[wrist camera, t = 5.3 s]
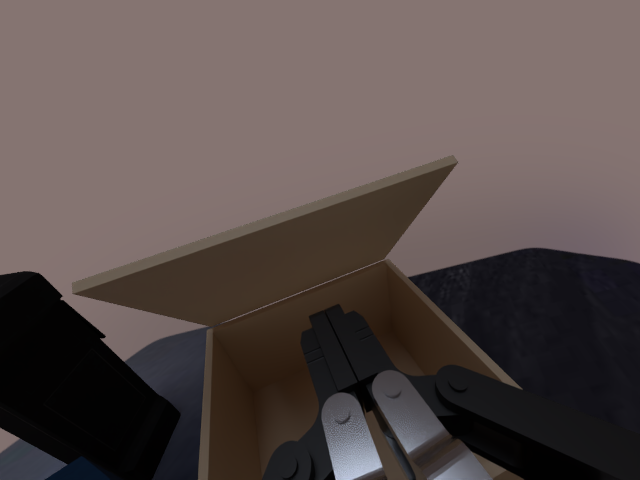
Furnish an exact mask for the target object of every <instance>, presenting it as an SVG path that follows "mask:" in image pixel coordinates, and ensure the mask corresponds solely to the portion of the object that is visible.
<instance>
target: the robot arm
mask: <svg viewBox="0 0 640 480" xmlns="http://www.w3.org/2000/svg"><path fill="white" fill-rule="evenodd" d="M309 319H310V322H311V325H312V328H310V329H308V330H305V331H303V332H302V334H301V341H300V344H301V347H302V350H303V354H304V357H305V360H306V363H307V366H308V369H309V372H310V376H311V379H312V382H313V385H314V388H315V391H316V395H317V398H318V402H319V411H318V415H317V418H316V421H315V423H314V424H313V426H312V427H311V428H310V429H309V430H308V431H307V432H306V433H305V434H304V435H303V436H302V437H301V438H300V439H299V440H298V441H287V442H284V443H283V444H281V445H280V446H279V447H277V449H276V450H275V451H274V452H273V454H272V456H271V458H270V460H269V462H268V465H267V468H266V470H265V473H264V475H263V478H262V480H388V479H387V477H386V474H385V472H384V469H383V467H382V464H381V461H380V458H379V456H378V453H377V450H376V447H375V445H374V442H373V439H372V436H371V434H370V431H369V428H368V426H367V422H366V418H365V412H364V409H365V411H366V413H368V412H370V411H373V413H374V416H375V418H376V420H377V422H378V425H379V429H380V432H381V434H382V436H383V438H384V439H385V441H386V443H387V445H388V447H389V448H390V450H391V452H392V454H393V456H394V458H395V459H396V461H397V463H398V465H399V467H400V468H401V470H402V472H403V474H404V476H405V477H406V479H407V480H493V479H492V478H491V477H490V475H489V474H488V473H487V471H486V470H485V469H484V468H483V466H482V465H481V464H480V462H479V461H478V460H477V459H476V457H475V456H474V455H473V454H472V452H473V453H475V454H477V455H479V456H481V457H483V458H485V459H487V460H489V461H490V462H492V463H494V464H496V465H498V466H500V467H502V468H504V469H506V470H507V471H509V472H511V473H513V474H515V475H517V476H519V477H521V478H523V479H524V480H640V434H638V433H635V432H633V431H630V430H627V429H625V428H622V427H619V426H617V425H614V424H612V423H609V422H606V421H604V420H601V419H598V418H596V417H593V416H590V415H588V414H585V413H583V412H580V411H577V410H575V409H572V408H569V407H567V406H564V405H561V404H559V403H556V402H554V401H551V400H548V399H546V398H543V397H540V396H538V395H535V394H532V393H530V392H527V391H525V390H522V389H519V388H517V387H514V386H511V385H509V384H506V383H503V382H501V381H498V380H496V379H493V378H490V377H488V376H485V375H482V374H480V373H477V372H474V371H472V370H469V369H467V368H464V367H461V366H458V365H446V366H443V367H442V368H440V369H439V370H438V372H437V374H436V375H426V376H411V375H407V374H405V373H403V372H401V371H400V370H399V369H397V368H396V367H395V365H394V364H393V363H392V361H391V360H390V358H389V356H388V355H387V353H386V352H385V350H384V349H383V347H382V346H381V344H380V342H379V341H378V339H377V338H376V336H375V335H374V333H373V331H372V330H371V328H370V327H369V325H368V324H367V322H366V320H365V319H364V317H363V316H361V315H360V314H358V313H357V312H356V311H354V310H353V311H351V312H348V313H346V314H345V313H344V311H343V309H342V308H341V306H340V305H339V304H337V305H334V306H332V307H329V308H327V309H324V311H323V310H322V311H320V312H317V313H315V314H312V315H310V316H309ZM471 451H472V452H471Z"/></svg>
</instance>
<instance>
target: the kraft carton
mask: <svg viewBox="0 0 640 480" xmlns="http://www.w3.org/2000/svg"><path fill="white" fill-rule="evenodd" d="M337 304H339V305H340V306H341V308H342V309H343V311H344V313H345V314H346V313H348V312H351V311H353V310H354V311H356V312H357V313H358V314H360V315H361V316H363V317H364V319H365V320H366V322H367V324H368V325H369V327H370V328H371V330H372V331H373V333H374V335H375V336H376V338H377V339H378V341H379V342H380V344H381V346H382V347H383V349H384V350H385V352H386V353H387V355H388V356H389V358H390V360H391V361H392V363H393V364H394V365H395V367H396V368H397V369H399V370H400V371H401V372H403V373H405V374H407V375H411V376H426V375H436V374H437V372H438V370H439V369H440V368H442V367H443V366H446V365H458V366H461V367H464V368H467V369H469V370H472V371H474V372H477V373H480V374H482V375H485V376H488V377H490V378H493V379H496V380H498V381H501V382H503V383H506V384H509V385H511V386H514V387H517V388H519V389H521V388H520V387H519V386H518V385H517V384H516V383H515V382H514V381H513V380H512V379H511V378H510V377H509V376H508V375H507V374H506V373H505V372H504V371H503V370H502V369H501V368H500V367H499V366H498V365H497V364H496V363H495V362H494V361H493V360H492V359H491V358H490V357H489V356H488V355H486V354H485V353H484V352H483V351H482V350H481V349H480V348H479V347H478V346H477V345H476V344H475V343H474V342H473V341H472V340H471V339H470V338H469V337H468V336H467V335H466V334H465V333H464V332H463V331H462V330H461V329H460V328H459V327H458V326H457V325H456V324H455V323H454V322H453V321H452V320H451V319H449V318H448V317H447V316H446V315H445V314H444V313H443V312H442V311H441V310H440V309H439V308H438V307H437V306H436V305H435V304H434V303H433V302H432V301H431V300H430V299H429V298H428V297H427V296H426V295H425V294H424V293H423V292H422V291H421V290H420V289H419V288H418V287H417V286H416V285H415V284H414V283H413V282H411V281H410V280H409V279H408V278H407V277H406V276H405V275H404V274H403V273H402V272H401V271H400V270H399V269H398V268H397V267H396V266H395V265H394V264H393V263H392V262H391V261H390V260H389V259H387V260H384V261H381V262H379V263H376V264H374V265H371V266H369V267H366V268H364V269H361V270H358V271H356V272H354V273H351V274H348V275H346V276H343V277H341V278H338V279H336V280H333V281H331V282H328V283H325V284H323V285H320V286H318V287H315V288H313V289H310V290H308V291H305V292H303V293H300V294H298V295H295V296H293V297H290V298H287V299H285V300H282V301H280V302H277V303H275V304H272V305H269V306H267V307H265V308H262V309H259V310H257V311H254V312H252V313H249V314H247V315H244V316H242V317H239V318H236V319H234V320H231V321H229V322H226V323H224V324H221V325H219V326H216V327H214V328H211V329H208V330H207V340H206V356H205V373H204V389H203V405H202V422H201V438H200V455H199V471H198V480H262V478H263V475H264V473H265V470H266V468H267V465H268V462H269V460H270V458H271V456H272V454H273V452H274V451H275V450H276V449H277V447H279V446H280V445H281V444H283V443H284V442H287V441H298V440H299V439H300V438H301V437H302V436H303V435H304V434H305V433H306V432H307V431H308V430H309V429H310V428H311V427H312V426H313V424H314V423H315V421H316V418H317V415H318V411H319V402H318V398H317V395H316V391H315V388H314V385H313V382H312V379H311V376H310V372H309V369H308V366H307V363H306V360H305V357H304V354H303V350H302V347H301V344H300V341H301V334H302V332H303V331H305V330H308V329H310V328H312V325H311V322H310V319H309V316H310V315H312V314H315V313H317V312H320V311H322V310H323V311H324V309H327V308H329V307H332V306H334V305H337ZM364 412H365V418H366V422H367V426H368V428H369V431H370V434H371V436H372V439H373V442H374V445H375V447H376V450H377V453H378V456H379V458H380V461H381V464H382V467H383V469H384V472H385V474H386V477H387V479H388V480H407V479H406V477H405V476H404V474H403V472H402V470H401V468H400V467H399V465H398V463H397V461H396V459H395V458H394V456H393V454H392V452H391V450H390V448H389V447H388V445H387V443H386V441H385V439H384V438H383V436H382V434H381V432H380V429H379V425H378V422H377V420H376V418H375V416H374V413H373V411H370V412H368V413H366V411H365V409H364ZM471 452H472V451H471ZM472 454H473V455H474V456H475V457H476V459H477V460H478V461H479V462H480V464H481V465H482V466H483V468H484V469H485V470H486V471H487V473H488V474H489V475H490V477H491V478H492V479H493V480H524V479H523V478H521V477H519V476H517V475H515V474H513V473H511V472H509V471H507V470H506V469H504V468H502V467H500V466H498V465H496V464H494V463H492V462H490V461H489V460H487V459H485V458H483V457H481V456H479V455H477V454H475V453H473V452H472Z"/></svg>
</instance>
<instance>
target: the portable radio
mask: <svg viewBox="0 0 640 480" xmlns="http://www.w3.org/2000/svg"><path fill="white" fill-rule="evenodd" d="M61 297H62V295H61V294H60V293H59V292H58V291H57V290H56V289H55V288H54V287H53V286H52V285H51V284H50V283H49V282H48V281H47V280H46V279H45V278H44V277H43V276H42V275H41V274H39V273H35V272H28V271H23V272H17V273H11V274H5V275H0V428H2V429H4V430H5V431H7V432H9V433H11V434H13V435H15V436H17V437H19V438H20V439H22V440H24V441H26V442H28V443H29V444H31V445H33V446H35V447H37V448H39V449H40V450H42V451H44V452H46V453H48V454H50V455H51V456H53V457H55V458H57V459H59V460H61V461H62V462H64V463H66V464H70V463H71V462H73V461H75V460H76V459H78V458H79V457H81V456H83V457H85V458H86V459H88V460H90V461H92V462H93V463H95V464H97V465H99V466H100V467H102V468H104V469H106V470H107V471H109V472H111V473H113V474H114V475H116V476H118V477H120V478H121V479H123V480H149V479H151V477H152V476H153V475H154V472H155V470H156V468H157V466H158V463H159V461H160V459H161V457H162V454H163V452H164V450H165V448H166V446H167V443H168V441H169V439H170V437H171V434H172V432H173V430H174V428H175V426H176V423H177V421H178V419H179V416H180V413H179V411H178V410H177V409H176V408H175V407H174V406H173V405H172V404H171V403H170V402H169V401H168V400H166V399H165V398H164V397H162V396H159V395H158V394H157V393H156V392H155V391H154V390H153V389H152V388H150V387H149V386H148V385H147V384H146V383H145V382H144V381H143V380H142V379H141V378H140V377H139V376H138V375H137V374H136V373H135V372H134V371H133V370H132V369H131V368H130V367H129V366H128V365H127V364H126V363H125V362H123V361H122V360H121V359H120V358H119V357H118V356H117V355H116V354H115V353H114V352H113V351H112V350H111V349H110V348H109V347H108V346H107V345H106V344H105V343H104V342H103V341H102V340H101V339H100V338H105V337H106V336H105V335H104V334H103V333H101V332H100V331H99V330H98V329H97V328H96V327H94V326H93V325H92V324H91V323H90V322H88V321H87V320H86V319H85V318H84V317H82V316H81V315H80V314H79V313H77V312H76V311H75V310H74V309H73V308H72V307H71V306H69V305H68V304H67V303H66V302H65V301H64V300H60V298H61Z"/></svg>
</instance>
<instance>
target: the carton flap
mask: <svg viewBox="0 0 640 480" xmlns="http://www.w3.org/2000/svg"><path fill="white" fill-rule="evenodd" d="M457 163H458V161H457V160H456V159H455V157H454V156H453V155H452V156H449V157H446V158H443V159H440V160H437V161H435V162H432V163H428V164H425V165H422V166H419V167H416V168H413V169H410V170H408V171H404V172H401V173H398V174H396V175H393V176H390V177H386V178H383V179H381V180H378V181H375V182H372V183H369V184H366V185H363V186H360V187H357V188H354V189H351V190H348V191H345V192H342V193H339V194H336V195H333V196H330V197H327V198H324V199H321V200H318V201H315V202H312V203H309V204H306V205H303V206H300V207H297V208H294V209H291V210H288V211H285V212H282V213H279V214H276V215H273V216H270V217H267V218H264V219H261V220H258V221H255V222H252V223H249V224H246V225H243V226H240V227H237V228H235V229H231V230H228V231H225V232H222V233H219V234H217V235H213V236H211V237H207V238H204V239H201V240H198V241H196V242H192V243H190V244H187V245H184V246H181V247H178V248H175V249H172V250H169V251H166V252H163V253H160V254H157V255H154V256H151V257H148V258H145V259H142V260H139V261H136V262H133V263H130V264H127V265H124V266H121V267H118V268H115V269H112V270H109V271H106V272H103V273H100V274H97V275H94V276H91V277H88V278H85V279H82V280H79V281H76V282H73V283H72V290H73V291H72V292H73V294H75V295H80V296H84V297H88V298H93V299H96V300H101V301H105V302H109V303H113V304H117V305H122V306H126V307H130V308H134V309H139V310H143V311H147V312H151V313H155V314H160V315H164V316H168V317H173V318H177V319H181V320H185V321H189V322H193V323H198V324H202V325H206V326H210V327H212V326H214V325H217V324H220V323H222V322H225V321H227V320H230V319H232V318H235V317H237V316H240V315H242V314H245V313H248V312H250V311H253V310H255V309H258V308H260V307H263V306H265V305H268V304H270V303H273V302H276V301H278V300H280V299H283V298H286V297H288V296H291V295H293V294H296V293H299V292H301V291H304V290H306V289H309V288H311V287H314V286H316V285H319V284H322V283H324V282H326V281H329V280H332V279H334V278H337V277H339V276H342V275H344V274H347V273H350V272H352V271H354V270H357V269H360V268H362V267H365V266H367V265H370V264H372V263H375V262H378V261H380V260H383V259H384V258H385V257H386V255H387V254H388V253H389V252H390V251H391V249H392V248H393V247H394V245H395V244H396V243H397V241H398V240H399V239H400V237H401V236H402V234H404V232H405V231H406V230H407V228H408V227H409V226H410V224H411V223H412V222H413V221H414V219H415V218H416V217H417V215H418V214H419V213H420V211H421V210H422V209H423V207H424V206H425V205H426V204H427V202H428V201H429V200H430V198H431V197H432V196H433V194H434V193H435V192H436V190H437V189H438V188H439V186H440V185H441V184H442V182H443V181H444V180H445V179H446V177H447V176H448V175H449V174H450V172H451V171H452V170H453V168H454V167H455V166H456V164H457Z"/></svg>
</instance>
